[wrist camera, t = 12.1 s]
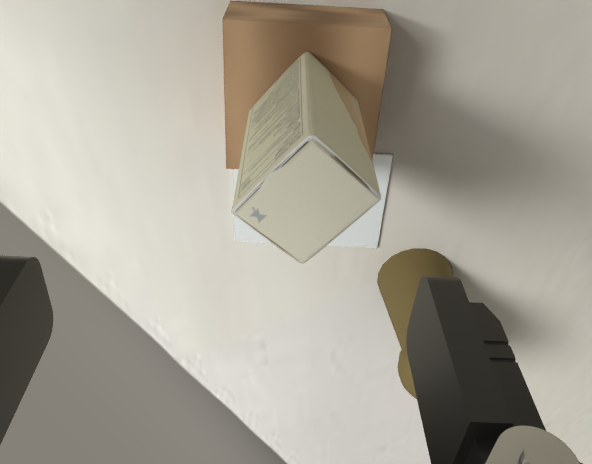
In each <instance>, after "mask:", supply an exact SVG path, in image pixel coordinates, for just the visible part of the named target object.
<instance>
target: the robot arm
mask: <svg viewBox="0 0 592 464" xmlns="http://www.w3.org/2000/svg"><path fill="white" fill-rule="evenodd" d="M52 327H53V311H52V306H51V303H50V299H49V295H48V291H47V288H46V284H45V281H44V277H43V273H42V269H41V265H40V263H39V261H38V259H37V258H35V257H21V256H0V444H1V442H2V440H3V438H4V436H5V433H6V431H7V429H8V427H9V425H10V423H11V421H12V418H13V416H14V414H15V412H16V410H17V408H18V406H19V403H20V401H21V399H22V397H23V395H24V393H25V391H26V389H27V386H28V384H29V382H30V380H31V378H32V376H33V373H34V371H35V369H36V367H37V365H38V363H39V361H40V359H41V356H42V354H43V352H44V350H45V348H46V346H47V343H48V341H49V339H50V336H51V332H52ZM406 346H407V355H408V360H409V364H410V369H411V373H412V378H413V383H414V387H415V392H416V396H417V401H418V405H419V410H420V415H421V419H422V424H423V428H424V433H425V437H426V442H427V446H428V451H429V456H430V460H431V464H582V463H580V462H579V461H578V459H577V457H576V456H575V454H574V453H573V452H572V450H571V449H570V448H569V447H568V446H567V445H566V444H565V443H564V442H563V441H561V440H560V439H559V438H557V437H556V436H554V435H553V434H551V433H549V432H547V431H546V429H545V427H544V425H543V423H542V420H541V418H540V416H539V413H538V411H537V409H536V406H535V404H534V401H533V399H532V397H531V394H530V392H529V389H528V387H527V385H526V382H525V380H524V378H523V375H522V373H521V370H520V368H519V366H518V363H516V362H515V359H516V358H515V356H514V354H513V351H512V349H511V347H510V346H509V345H508V339H507V337H506V335H505V332H504V330H503V327H502V325H501V323H500V321H499V320H498V319H497V318H496V317H495V316H494V314H493V313H492V312H491V311H490V310H489V309H488V308H487V307H486V306H485V305H484V304H483V303H470V302H469V301H468V299H467V296H466V293H465V291H464V288H463V285H462V283H461V281H460V279H459V278H453V277H431V276H423V277H422V278H421V279H420V282H419V285H418V289H417V293H416V297H415V300H414V304H413V308H412V312H411V316H410V319H409V323H408V327H407V337H406Z"/></svg>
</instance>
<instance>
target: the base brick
mask: <svg viewBox="0 0 592 464" xmlns="http://www.w3.org/2000/svg"><path fill="white" fill-rule="evenodd" d="M391 30H392V28H391V26H390V24H389V21H388V19H387V17H386V15H385V13H384V10H383V9H367V8H350V7H332V6H314V5H296V4H278V3H260V2H243V1H230V4H229V6H228V8H227V10H226V13H225V15H224V17H223V55H224V95H225V134H226V169H239V165H240V160H241V154H242V148H243V142H244V137H245V131H246V126H247V120H248V114H249V111H250V109H251V108H252V107H253V106H254V105H255V104H256V103H257V102H258V100H259V99H260V98H261V97H262V96H263V95H264V94H265V93H266V92H267V90H268V89H269V88H270V87H271V86H272V85H273V84H274V83H275V82H276V81H277V80H278V79H279V78H280V77H281V75H282V74H283V73H284V72H285V71H286V70H287V69H288V68H289V67H290V66H291V65H292V64H293V63H294V62H295V61H296V60H297V59H298V58H299V57H300V56H301V55H302V54H303V53H305V52H309V53H311V54H312V55H313V56H314V57H315V58H316V59H317V60H318V61H319V62H320V63H321V64H322V65H323V66H324V67H325V68H327V69H328V70H329V71H330V72H331V73H332V74H333V75H334V76H335V77H336V78H337V79H338V80H339V81H340V82H341V83H342V84H343V85H344V86H345V87H346V88H347V89H348V91H349V92H350V93H351V94H352V95H353V96H354V97H355V98H356V99H357V101H358V104H359V108H360V112H361V116H362V120H363V125H364V129H365V133H366V137H367V141H368V145H369V149H370V153H371V157H372V160H373V153H374V146H375V139H376V132H377V126H378V119H379V112H380V105H381V98H382V92H383V85H384V78H385V71H386V64H387V58H388V51H389V44H390V37H391Z"/></svg>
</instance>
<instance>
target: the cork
mask: <svg viewBox="0 0 592 464" xmlns="http://www.w3.org/2000/svg"><path fill="white" fill-rule="evenodd" d="M423 276H431V277H453V272H452V267H451V264H450V263H449V262H448V260H447V259H446V257H444V256H442V255H441V254H439V253H438V252H436V251H432V250H428V249H410V250H406V251H402V252H400V253H398V254H396V255H394V256H392V257H391V258H390V259H389V260H387V261H386V262H385V263H384V264H383V266H382V268H381V269H380V271H379V273H378V281H377V283H378V286H379V289H380V292H381V295H382V297H383V300H384V303H385V305H386V308H387V311H388V314H389V316H390V319H391V322H392V324H393V327H394V330H395V332H396V335H397V338H398V340H399V343H400V346H401V349H402V350H401V352H400V356H399V362H398V372H399V376H400V379H401V382H402V384H403V386H404V388H405V389H406V390H407V391H408V392H409V393H410V394H411V395H412V396H413V397H414V398H416V399H417V396H416V392H415V387H414V383H413V378H412V373H411V369H410V364H409V360H408V355H407V346H406V337H407V327H408V323H409V319H410V316H411V312H412V308H413V304H414V300H415V297H416V293H417V289H418V285H419V282H420V279H421V278H422V277H423Z"/></svg>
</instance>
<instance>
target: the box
mask: <svg viewBox="0 0 592 464" xmlns="http://www.w3.org/2000/svg"><path fill="white" fill-rule="evenodd" d="M380 200H381V194H380V190H379V185H378V181H377V178H376V173H375V170H374V165H373V161H372V157H371V153H370V149H369V145H368V141H367V137H366V133H365V129H364V125H363V120H362V116H361V112H360V108H359V104H358V101H357V99H356V98H355V97H354V96H353V95H352V94H351V93H350V92H349V91H348V89H347V88H346V87H345V86H344V85H343V84H342V83H341V82H340V81H339V80H338V79H337V78H336V77H335V76H334V75H333V74H332V73H331V72H330V71H329V70H328V69H327V68H325V67H324V66H323V65H322V64H321V63H320V62H319V61H318V60H317V59H316V58H315V57H314V56H313V55H312V54H311V53H309V52H305V53H303V54H302V55H301V56H300V57H299V58H298V59H297V60H296V61H295V62H294V63H293V64H292V65H291V66H290V67H289V68H288V69H287V70H286V71H285V72H284V73H283V74H282V75H281V77H280V78H279V79H278V80H277V81H276V82H275V83H274V84H273V85H272V86H271V87H270V88H269V89H268V90H267V92H266V93H265V94H264V95H263V96H262V97H261V98H260V99H259V100H258V102H257V103H256V104H255V105H254V106H253V107H252V108H251V109H250V111H249V114H248V120H247V126H246V131H245V137H244V142H243V148H242V154H241V160H240V165H239V172H238V177H237V184H236V189H235V195H234V201H233V206H232V213H233V214H234V215H235V216H236V217H238V218H239V219H240V220H242V221H243V222H244V223H246V224H247V225H248V226H249V227H251V228H252V229H253V230H255V231H256V232H257V233H259V234H260V235H262V236H263V237H264V238H266V239H267V240H268V241H270V242H271V243H272V244H274V245H275V246H277V247H278V248H279V249H281V250H282V251H284V252H285V253H287V254H288V255H289V256H291V257H292V258H294V259H295V260H296V261H298V262H299V263H305V262H306V261H308V260H309V259H310V258H312V257H313V256H314V255H315V254H317V253H318V252H319V251H320V250H322V249H323V248H324V247H325V246H327V245H328V244H329V243H330V242H332V241H333V240H334V239H335V238H337V237H338V236H339V235H340V234H342V233H343V232H344V231H345V230H346V229H347V228H349V227H350V226H351V225H352V224H353V223H354V222H356V221H357V220H358V219H359V218H360V217H362V216H363V215H364V214H365V213H366V212H367V211H369V210H370V209H371V208H372V207H373V206H374V205H375V204H377V203H378V202H379V201H380Z"/></svg>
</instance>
